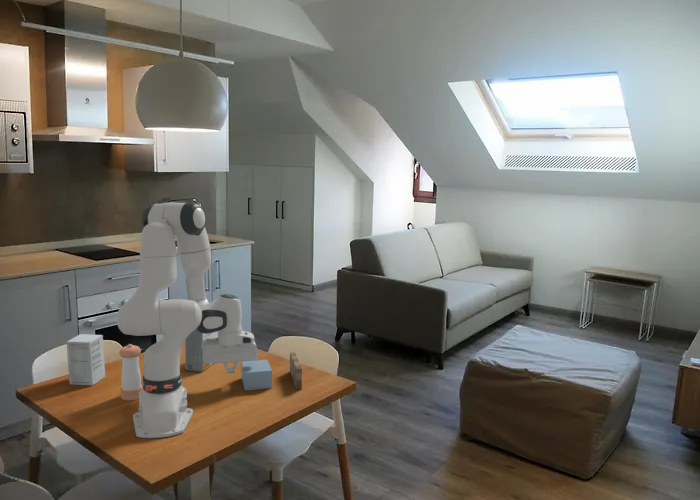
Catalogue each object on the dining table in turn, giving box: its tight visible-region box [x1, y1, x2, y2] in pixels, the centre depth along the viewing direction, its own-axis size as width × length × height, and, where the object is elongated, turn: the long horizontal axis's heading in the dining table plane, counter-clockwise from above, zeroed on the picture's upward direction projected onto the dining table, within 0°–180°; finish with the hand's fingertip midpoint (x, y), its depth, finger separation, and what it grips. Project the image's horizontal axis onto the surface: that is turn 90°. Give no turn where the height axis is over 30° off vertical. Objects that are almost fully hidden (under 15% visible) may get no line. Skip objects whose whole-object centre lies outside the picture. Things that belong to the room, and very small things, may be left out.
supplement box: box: [66, 333, 106, 387], centre depth 211 cm, size 10×9×17 cm
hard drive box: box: [184, 329, 218, 373], centre depth 230 cm, size 16×8×20 cm, turn 168°
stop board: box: [289, 351, 303, 390], centre depth 217 cm, size 18×2×8 cm, turn 14°
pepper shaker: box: [119, 343, 143, 401], centre depth 198 cm, size 7×7×19 cm
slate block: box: [240, 359, 273, 391], centre depth 214 cm, size 12×10×7 cm
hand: (230, 372), depth 211 cm, fingers closed
